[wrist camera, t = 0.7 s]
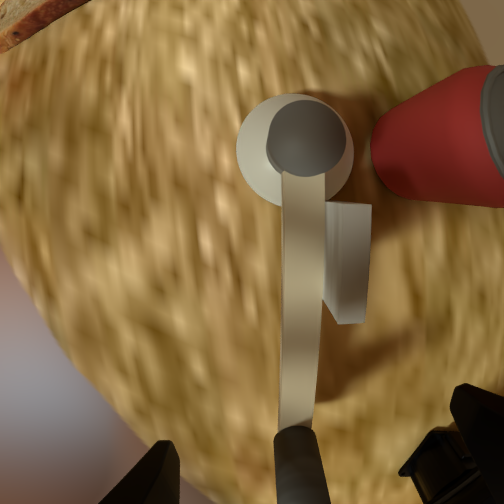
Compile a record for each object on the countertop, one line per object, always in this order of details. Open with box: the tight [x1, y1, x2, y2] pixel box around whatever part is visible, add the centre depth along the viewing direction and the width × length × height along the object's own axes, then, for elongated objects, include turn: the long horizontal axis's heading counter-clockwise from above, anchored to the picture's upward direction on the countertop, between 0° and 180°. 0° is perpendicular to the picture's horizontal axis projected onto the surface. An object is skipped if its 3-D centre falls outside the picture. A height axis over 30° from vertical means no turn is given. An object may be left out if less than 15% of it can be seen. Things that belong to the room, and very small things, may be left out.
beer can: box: [370, 65, 504, 208], centre depth 14 cm, size 7×7×12 cm
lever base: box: [236, 94, 354, 206], centre depth 19 cm, size 7×7×2 cm
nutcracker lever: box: [266, 100, 372, 504], centre depth 15 cm, size 22×4×9 cm, turn 1°
